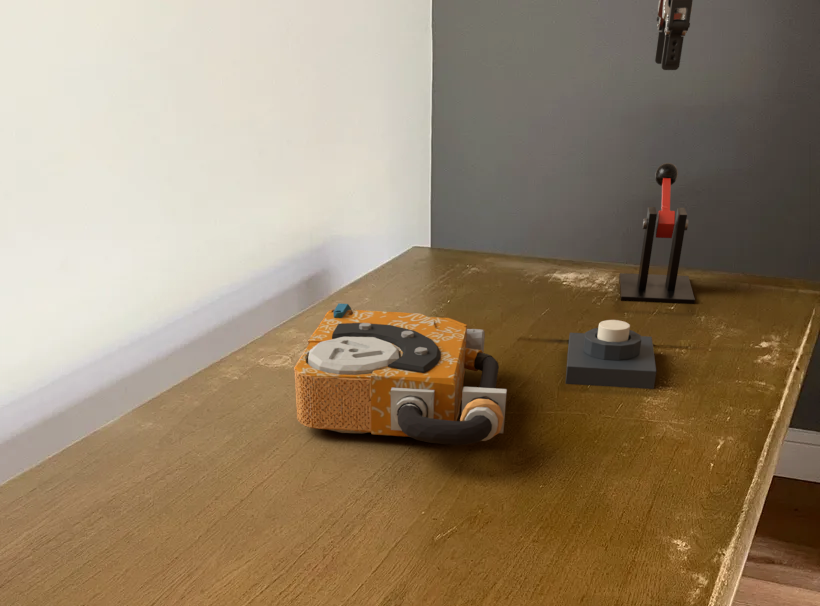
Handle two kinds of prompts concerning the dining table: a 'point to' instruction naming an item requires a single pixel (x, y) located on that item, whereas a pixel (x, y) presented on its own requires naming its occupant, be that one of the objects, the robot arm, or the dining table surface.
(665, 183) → the red lever
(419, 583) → the dining table surface
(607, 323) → the stop button
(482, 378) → the device
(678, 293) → the lever bracket
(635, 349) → the base block
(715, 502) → the dining table surface
